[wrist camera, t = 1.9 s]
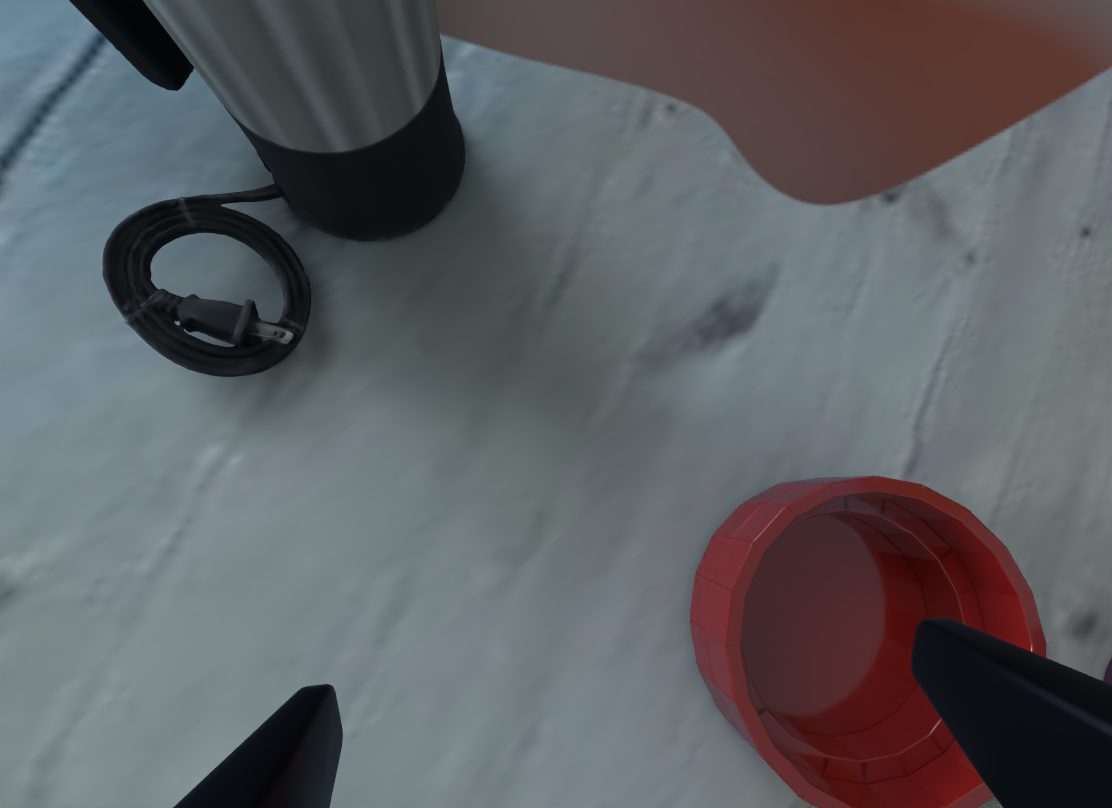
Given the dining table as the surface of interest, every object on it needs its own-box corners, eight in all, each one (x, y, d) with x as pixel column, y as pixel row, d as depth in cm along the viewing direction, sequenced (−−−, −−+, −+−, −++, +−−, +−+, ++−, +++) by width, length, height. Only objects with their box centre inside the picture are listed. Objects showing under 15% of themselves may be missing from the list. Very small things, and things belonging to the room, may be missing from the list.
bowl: (942, 785, 23) (1044, 857, 18) (669, 741, 22) (706, 803, 18) (954, 504, 25) (1049, 508, 21) (705, 458, 24) (746, 451, 20)
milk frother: (468, 73, 27) (407, -425, 12) (474, 376, 24) (407, 205, 10) (174, 69, 26) (-278, -482, 11) (149, 386, 23) (-476, 210, 9)
